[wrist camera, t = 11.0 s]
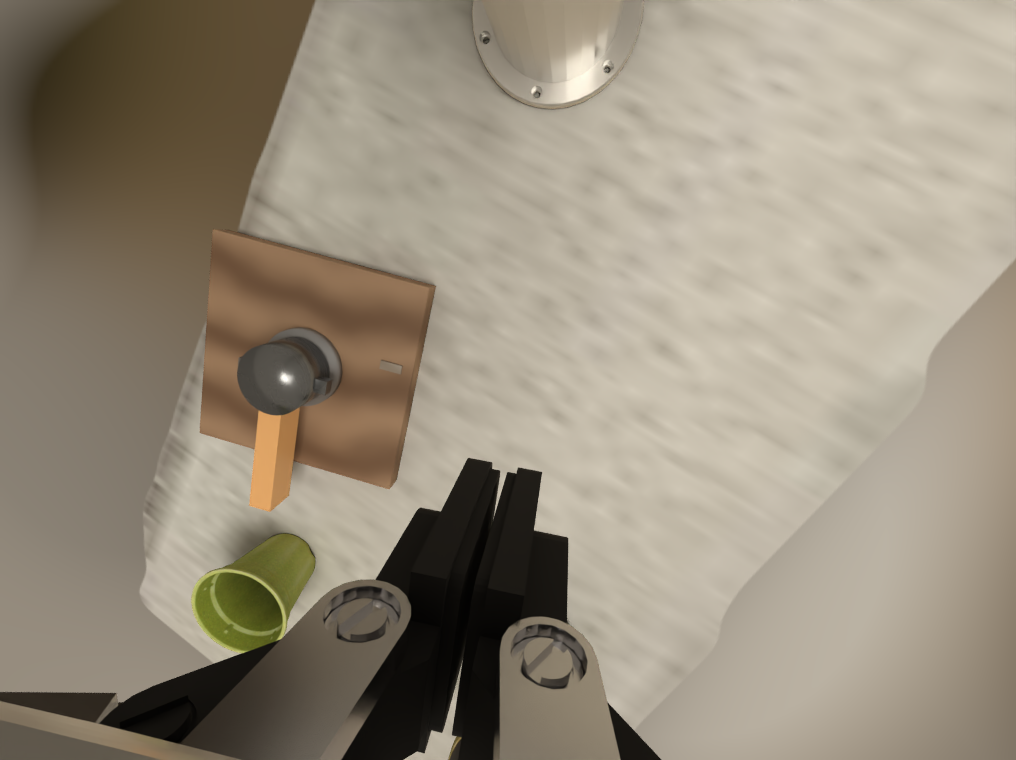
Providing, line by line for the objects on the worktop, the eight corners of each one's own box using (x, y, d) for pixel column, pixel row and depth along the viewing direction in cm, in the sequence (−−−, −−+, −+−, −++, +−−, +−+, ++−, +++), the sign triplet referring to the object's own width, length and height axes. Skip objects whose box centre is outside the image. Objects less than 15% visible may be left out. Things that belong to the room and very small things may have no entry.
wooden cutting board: (228, 229, 44) (204, 228, 41) (435, 286, 43) (425, 288, 40) (214, 425, 50) (192, 436, 47) (396, 479, 49) (385, 494, 46)
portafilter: (344, 349, 42) (321, 359, 38) (321, 500, 47) (299, 523, 43) (259, 325, 43) (228, 333, 39) (245, 477, 47) (216, 497, 43)
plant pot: (259, 505, 52) (199, 554, 43) (339, 538, 52) (295, 594, 43) (243, 572, 54) (183, 630, 46) (319, 604, 54) (273, 668, 46)
